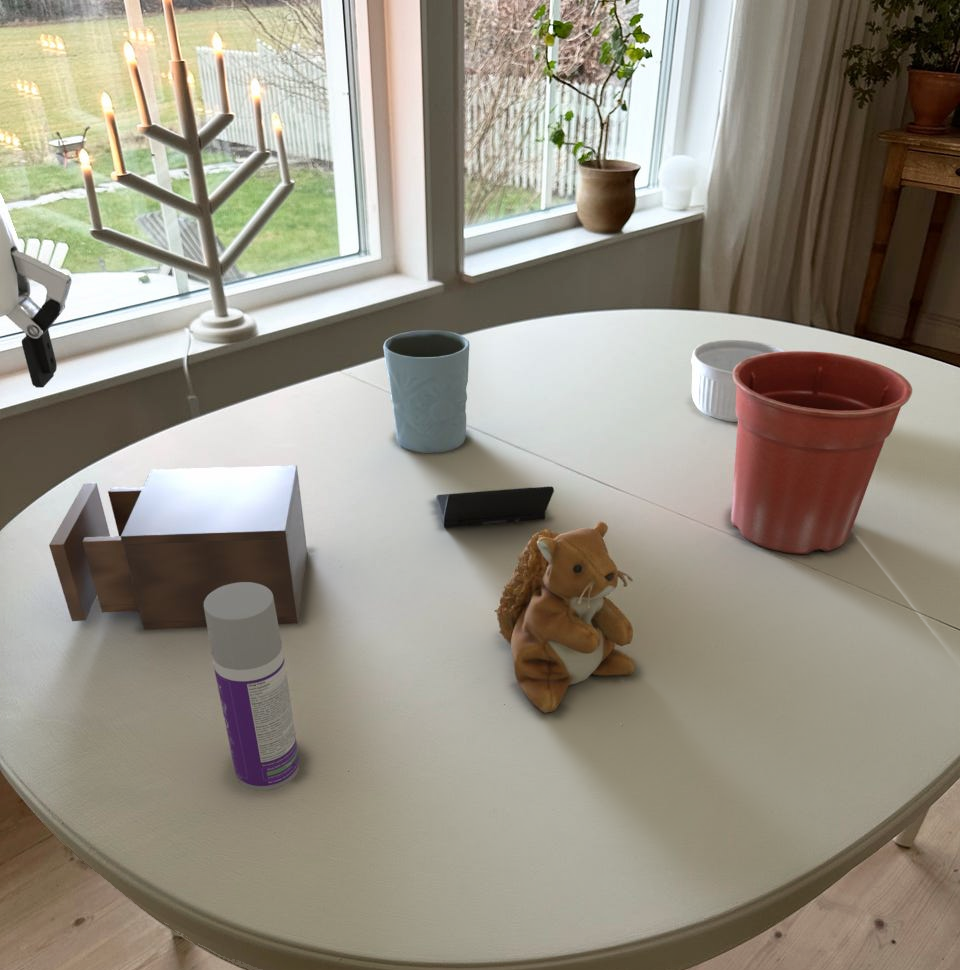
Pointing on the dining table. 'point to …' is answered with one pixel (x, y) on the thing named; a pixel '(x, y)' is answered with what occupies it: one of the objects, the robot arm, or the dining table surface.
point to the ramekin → (721, 374)
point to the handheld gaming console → (494, 506)
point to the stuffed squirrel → (564, 614)
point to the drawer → (95, 553)
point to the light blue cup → (428, 388)
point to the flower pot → (808, 444)
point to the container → (252, 684)
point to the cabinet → (215, 540)
